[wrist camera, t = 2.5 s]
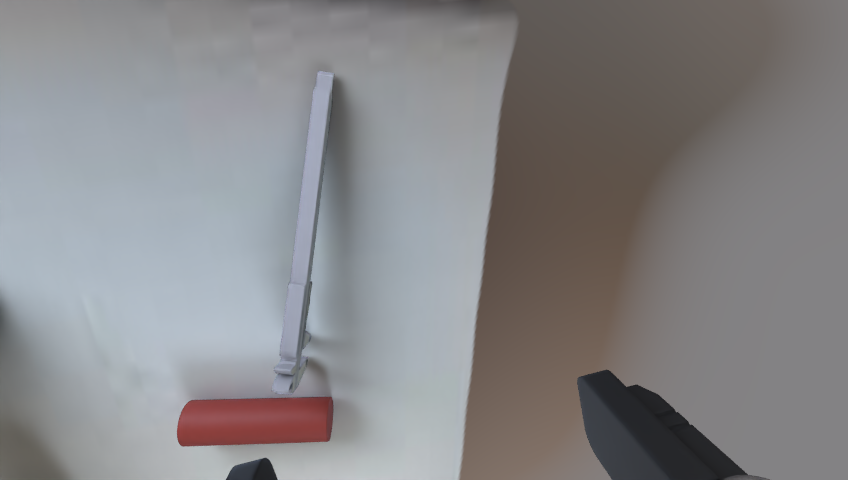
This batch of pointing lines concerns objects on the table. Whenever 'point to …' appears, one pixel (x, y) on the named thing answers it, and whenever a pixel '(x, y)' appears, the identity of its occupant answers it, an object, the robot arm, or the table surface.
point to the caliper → (305, 242)
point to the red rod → (255, 421)
